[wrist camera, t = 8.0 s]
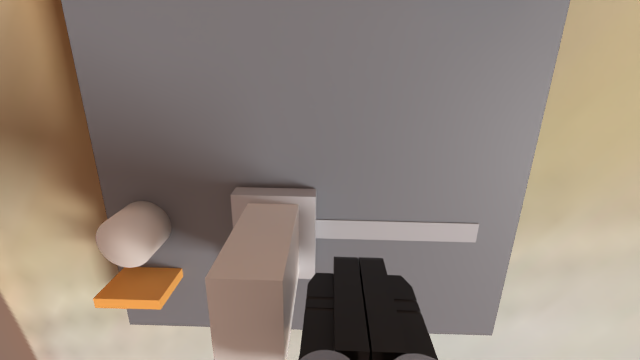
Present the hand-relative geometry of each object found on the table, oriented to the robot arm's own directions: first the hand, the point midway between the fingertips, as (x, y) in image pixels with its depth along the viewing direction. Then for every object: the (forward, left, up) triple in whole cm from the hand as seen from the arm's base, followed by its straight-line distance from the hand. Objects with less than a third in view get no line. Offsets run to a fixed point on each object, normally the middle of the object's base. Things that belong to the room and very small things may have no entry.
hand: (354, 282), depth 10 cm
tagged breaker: (+3, 0, -3) cm, 4 cm away
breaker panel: (+2, -5, -5) cm, 7 cm away
